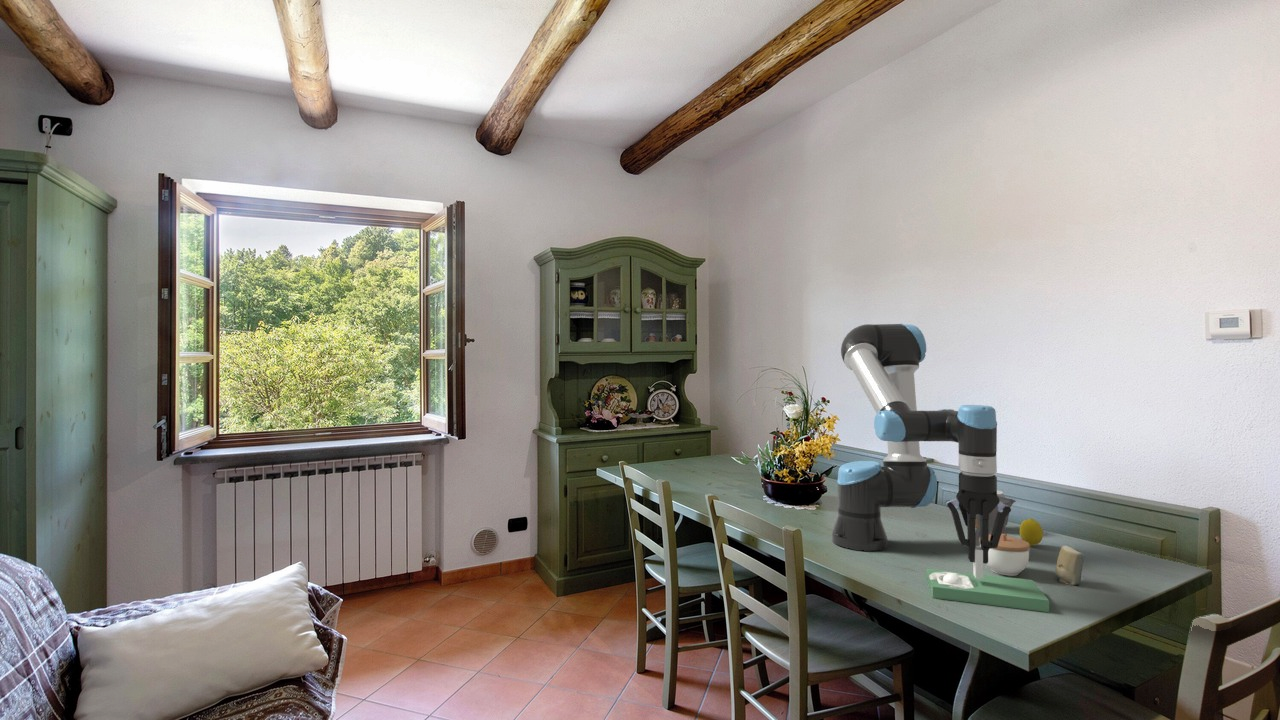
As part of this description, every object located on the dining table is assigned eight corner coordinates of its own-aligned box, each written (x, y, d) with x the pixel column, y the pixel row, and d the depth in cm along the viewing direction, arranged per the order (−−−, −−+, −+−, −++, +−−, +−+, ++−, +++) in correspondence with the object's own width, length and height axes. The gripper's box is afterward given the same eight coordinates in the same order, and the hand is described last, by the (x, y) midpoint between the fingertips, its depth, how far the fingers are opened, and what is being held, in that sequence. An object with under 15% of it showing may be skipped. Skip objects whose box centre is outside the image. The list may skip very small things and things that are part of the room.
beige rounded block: (1089, 584, 136) (1089, 550, 136) (1079, 588, 133) (1079, 554, 133) (1062, 576, 141) (1062, 543, 141) (1051, 580, 138) (1051, 547, 138)
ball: (941, 590, 131) (946, 573, 131) (940, 584, 135) (944, 568, 135) (961, 596, 130) (965, 580, 130) (958, 590, 134) (963, 574, 133)
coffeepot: (1004, 547, 163) (1004, 484, 163) (1026, 559, 153) (1026, 491, 153) (950, 548, 163) (949, 484, 163) (969, 559, 153) (968, 492, 153)
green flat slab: (932, 597, 129) (932, 586, 129) (926, 578, 140) (926, 568, 140) (1049, 612, 121) (1049, 600, 121) (1032, 590, 132) (1032, 580, 132)
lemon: (1035, 543, 166) (1035, 515, 166) (1047, 549, 161) (1047, 521, 161) (1015, 543, 167) (1015, 515, 167) (1026, 549, 161) (1026, 520, 161)
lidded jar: (1031, 582, 137) (1030, 543, 137) (979, 574, 143) (978, 536, 143) (1029, 568, 146) (1028, 532, 146) (980, 561, 152) (979, 525, 152)
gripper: (947, 474, 130) (948, 578, 129) (1015, 478, 125) (1015, 586, 125) (942, 468, 137) (943, 567, 136) (1006, 472, 132) (1007, 574, 132)
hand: (978, 576), depth 131 cm, fingers closed
